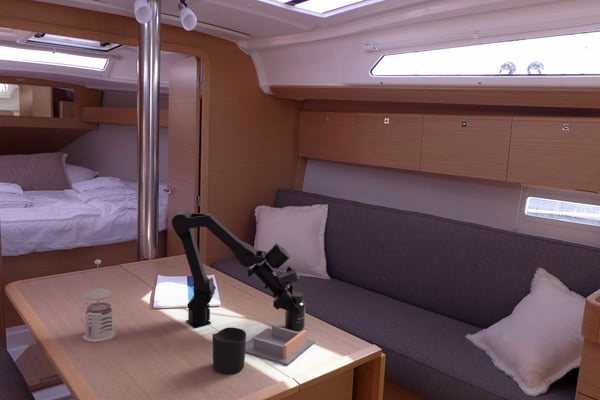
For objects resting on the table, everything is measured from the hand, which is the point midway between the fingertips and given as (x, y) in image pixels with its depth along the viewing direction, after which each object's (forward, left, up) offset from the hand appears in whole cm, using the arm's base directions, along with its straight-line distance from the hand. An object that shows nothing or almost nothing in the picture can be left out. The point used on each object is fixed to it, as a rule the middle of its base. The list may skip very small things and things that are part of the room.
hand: (299, 309), depth 164 cm
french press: (-57, +32, -7) cm, 66 cm away
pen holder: (-34, -9, -7) cm, 36 cm away
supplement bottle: (-1, +1, -7) cm, 7 cm away
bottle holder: (-15, -7, -7) cm, 18 cm away
